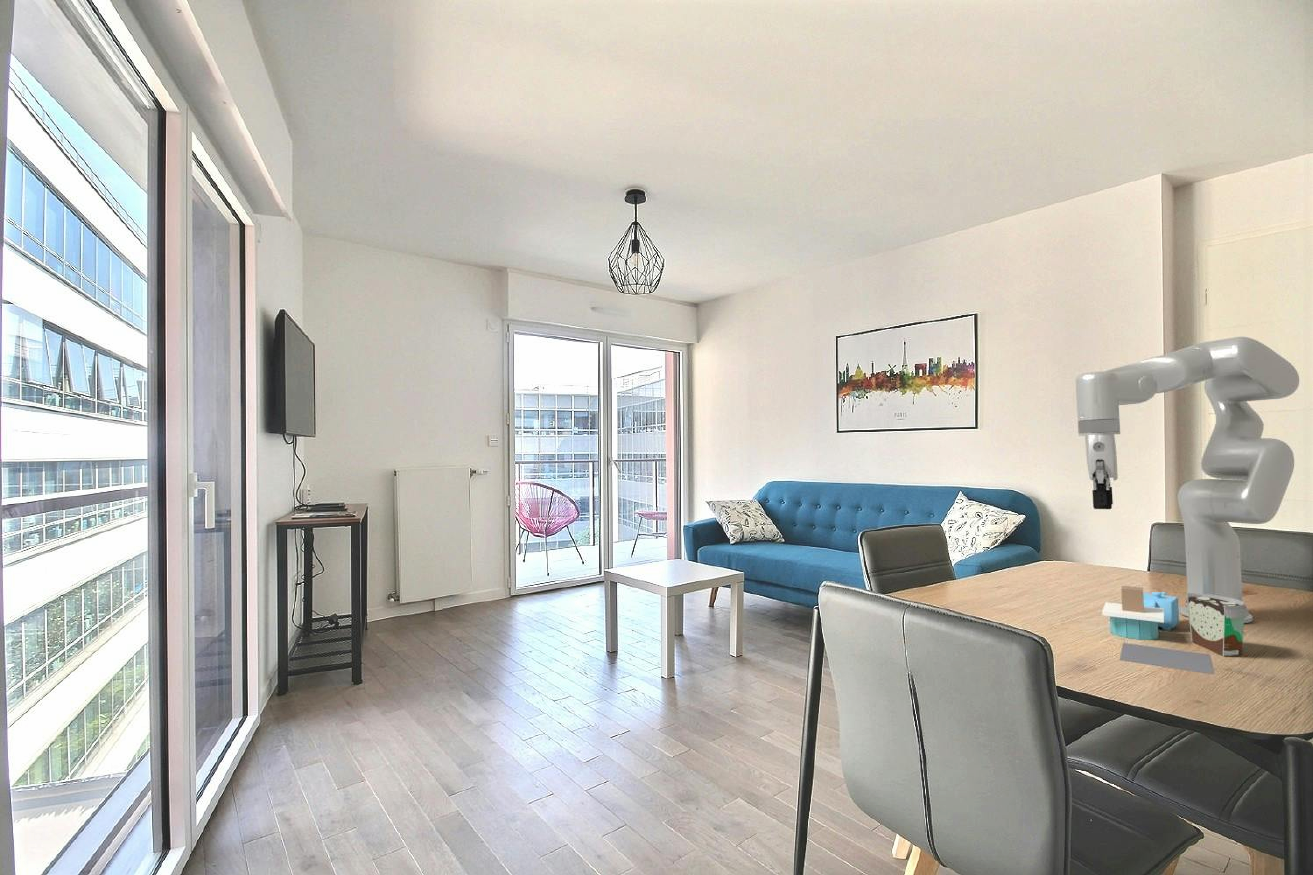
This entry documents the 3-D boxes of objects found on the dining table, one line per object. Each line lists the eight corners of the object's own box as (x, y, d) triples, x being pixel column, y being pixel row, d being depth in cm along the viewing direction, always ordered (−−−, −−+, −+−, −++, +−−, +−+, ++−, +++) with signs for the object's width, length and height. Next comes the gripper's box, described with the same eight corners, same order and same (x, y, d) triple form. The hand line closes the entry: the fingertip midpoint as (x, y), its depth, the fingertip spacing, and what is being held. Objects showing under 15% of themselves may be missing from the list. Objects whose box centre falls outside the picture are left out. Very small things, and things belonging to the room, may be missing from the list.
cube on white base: (1164, 612, 133) (1163, 586, 133) (1163, 622, 125) (1162, 595, 125) (1105, 605, 139) (1104, 581, 139) (1102, 615, 131) (1101, 589, 131)
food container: (1268, 663, 114) (1266, 607, 114) (1229, 662, 115) (1226, 606, 116) (1222, 643, 126) (1220, 593, 127) (1187, 642, 127) (1184, 592, 128)
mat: (1123, 645, 126) (1123, 642, 126) (1209, 657, 118) (1209, 654, 118) (1119, 662, 116) (1119, 659, 116) (1213, 677, 108) (1213, 674, 108)
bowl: (1112, 629, 137) (1111, 607, 138) (1158, 635, 132) (1157, 612, 133) (1109, 637, 131) (1108, 615, 131) (1158, 644, 126) (1157, 620, 126)
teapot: (1148, 618, 146) (1147, 585, 146) (1182, 623, 141) (1181, 589, 141) (1135, 628, 138) (1134, 594, 138) (1170, 634, 133) (1169, 598, 134)
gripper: (1119, 427, 130) (1124, 511, 129) (1120, 427, 143) (1124, 503, 143) (1075, 429, 134) (1080, 510, 134) (1080, 429, 148) (1084, 503, 147)
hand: (1103, 506), depth 138 cm, fingers open, 9 cm apart
